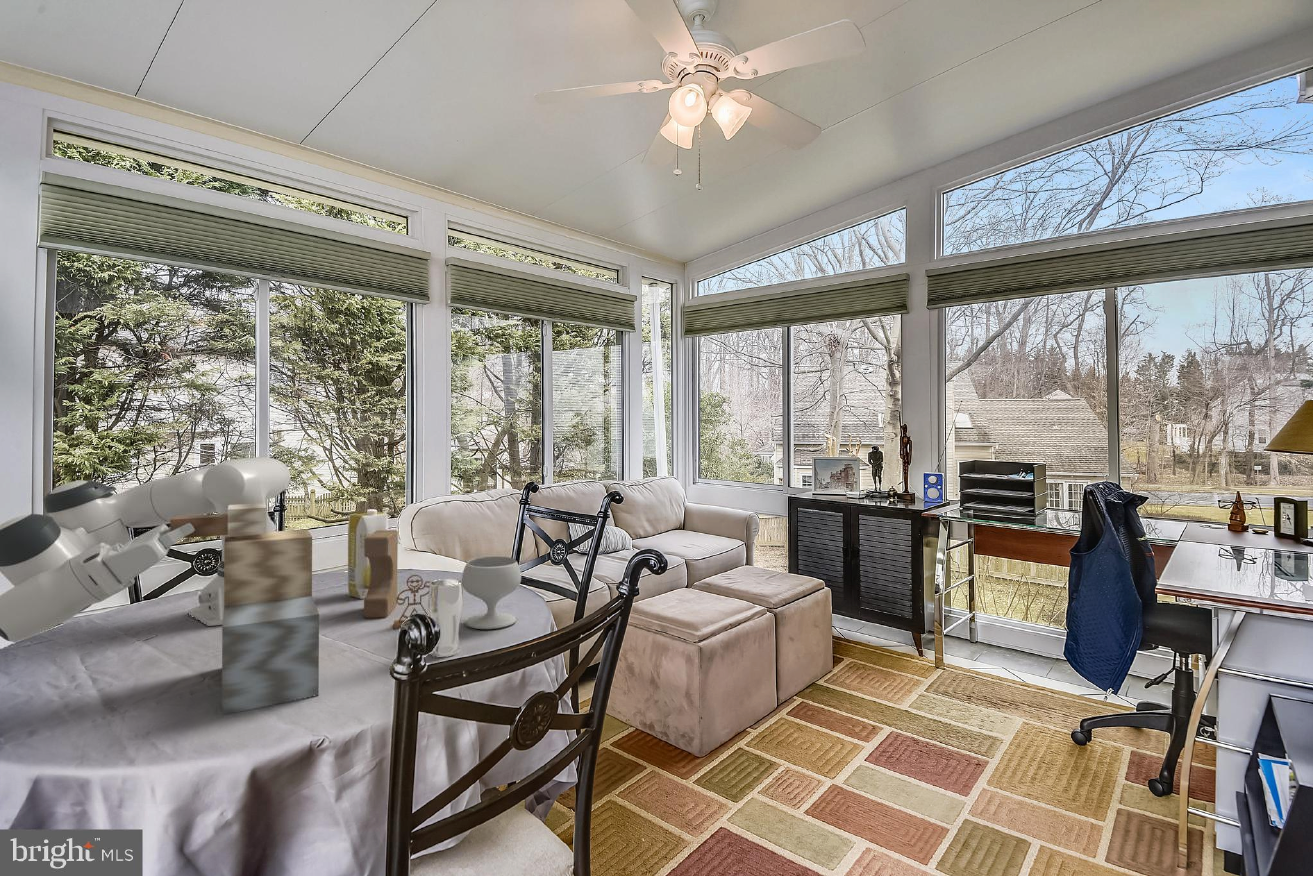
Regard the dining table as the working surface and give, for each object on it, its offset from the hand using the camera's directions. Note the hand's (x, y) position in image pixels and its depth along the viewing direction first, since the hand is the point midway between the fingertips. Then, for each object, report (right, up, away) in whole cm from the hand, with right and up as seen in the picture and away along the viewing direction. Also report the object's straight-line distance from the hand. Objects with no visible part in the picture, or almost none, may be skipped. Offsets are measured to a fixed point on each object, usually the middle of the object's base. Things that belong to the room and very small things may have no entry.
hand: (193, 524), depth 114 cm
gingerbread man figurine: (+27, -29, +35) cm, 53 cm away
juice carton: (+4, -28, +60) cm, 66 cm away
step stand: (+13, -29, +2) cm, 32 cm away
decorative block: (+15, -29, +44) cm, 55 cm away
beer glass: (+40, -30, +17) cm, 53 cm away
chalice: (+45, -29, +37) cm, 65 cm away
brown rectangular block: (+4, -2, +3) cm, 5 cm away
